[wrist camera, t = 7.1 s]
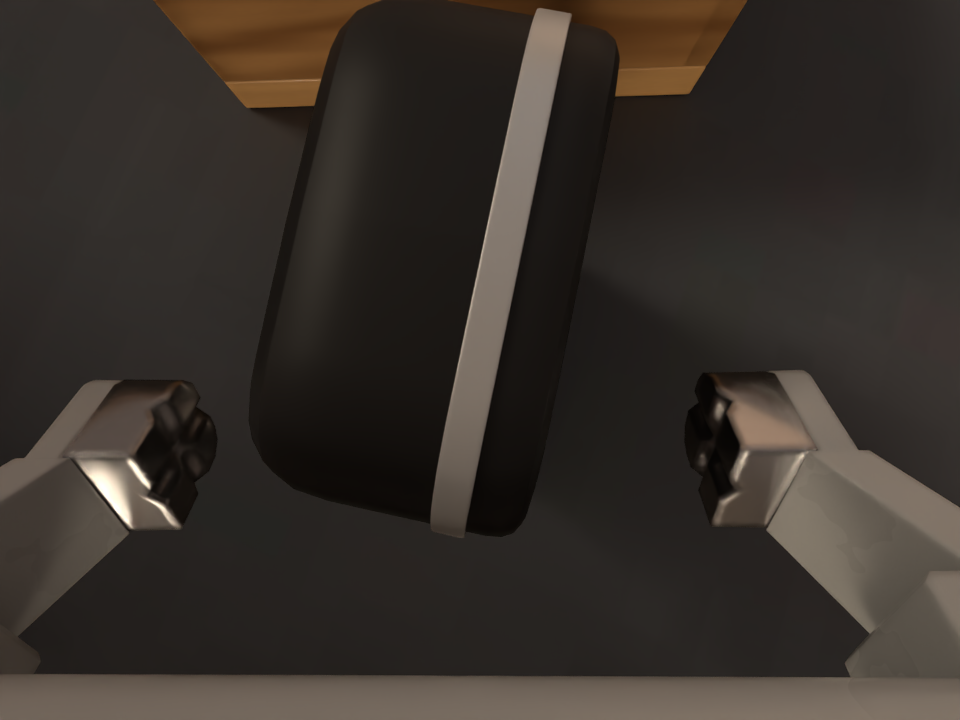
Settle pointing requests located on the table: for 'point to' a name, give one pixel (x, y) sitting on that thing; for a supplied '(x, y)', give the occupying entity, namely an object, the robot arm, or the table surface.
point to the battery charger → (434, 261)
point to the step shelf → (331, 3)
